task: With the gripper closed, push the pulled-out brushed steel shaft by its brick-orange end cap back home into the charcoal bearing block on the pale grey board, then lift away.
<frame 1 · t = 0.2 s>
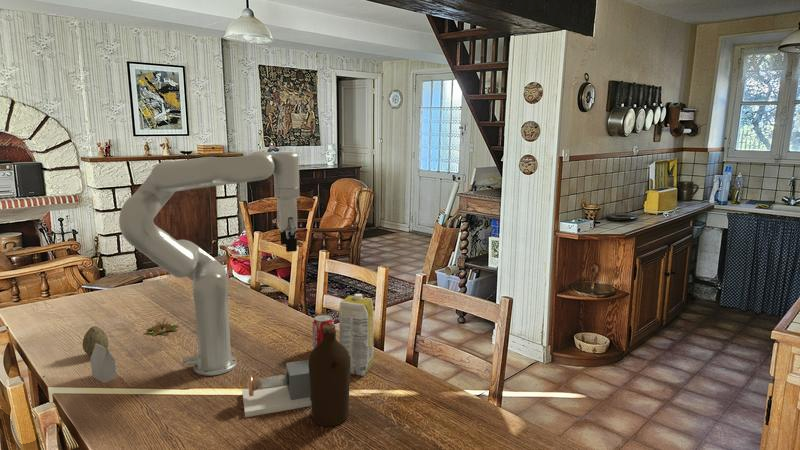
hand: (288, 247, 161), 36 cm above the table, tool pointing down, fingers open, 9 cm apart
juice carton: (356, 370, 160), on the table
bearing board: (270, 401, 142), on the table
olive oil: (330, 417, 135), on the table
decorative egg: (97, 356, 168), on the table
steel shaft: (276, 381, 141), point 6 cm above the table, slide at 9.0 cm
soda can: (323, 352, 173), on the table
green leafy plant: (162, 332, 189), on the table
tea bag: (104, 378, 154), on the table
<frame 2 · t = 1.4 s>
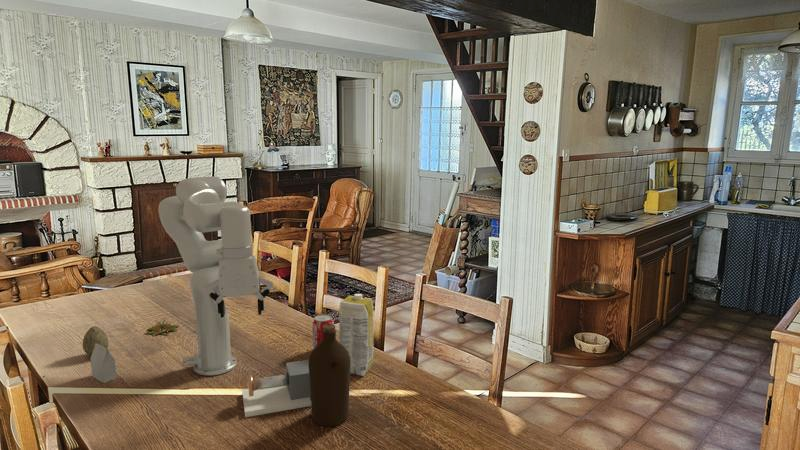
hand: (241, 314, 139), 24 cm above the table, tool pointing down, fingers open, 9 cm apart
nothing on the table moved.
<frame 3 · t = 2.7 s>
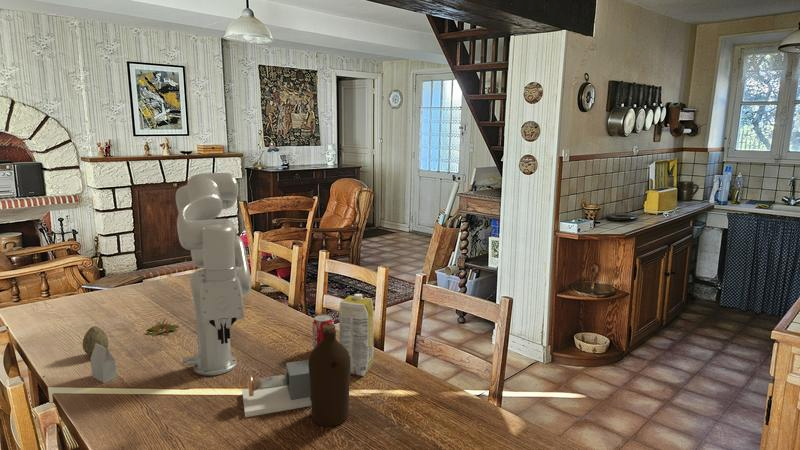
hand: (224, 341, 134), 19 cm above the table, tool pointing down, fingers closed
nothing on the table moved.
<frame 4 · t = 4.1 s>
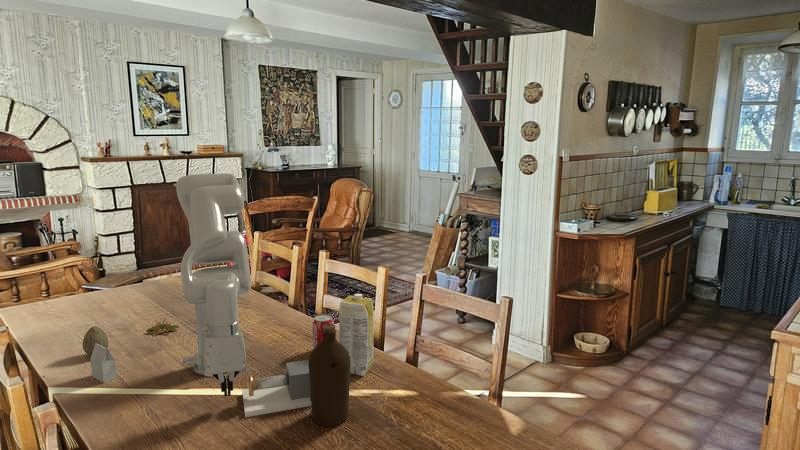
hand: (227, 393, 137), 4 cm above the table, tool pointing down, fingers closed
nothing on the table moved.
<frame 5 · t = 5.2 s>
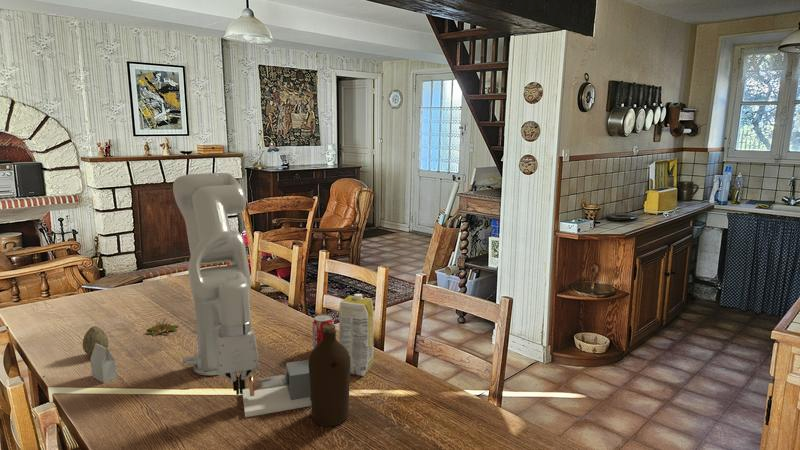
hand: (239, 392, 138), 4 cm above the table, tool pointing down, fingers closed
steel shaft: (277, 381, 141), point 6 cm above the table, slide at 8.8 cm, touching gripper
everything else where it was.
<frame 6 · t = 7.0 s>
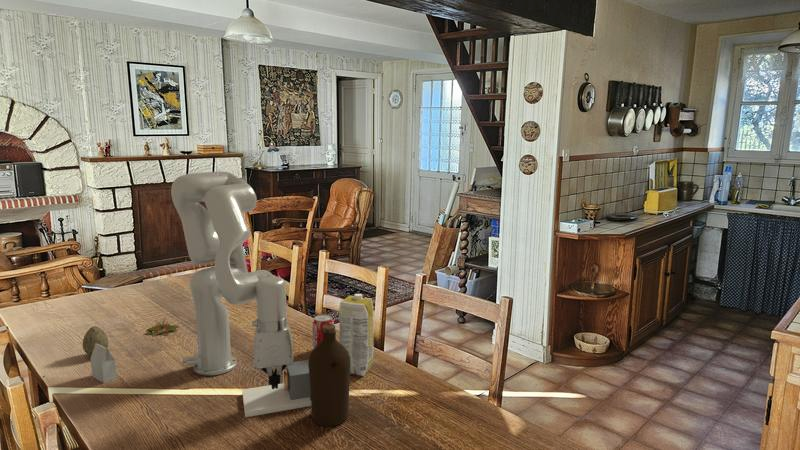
hand: (274, 386, 141), 4 cm above the table, tool pointing down, fingers closed
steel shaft: (310, 376, 144), point 6 cm above the table, slide at -0.3 cm, touching gripper
everything else where it was.
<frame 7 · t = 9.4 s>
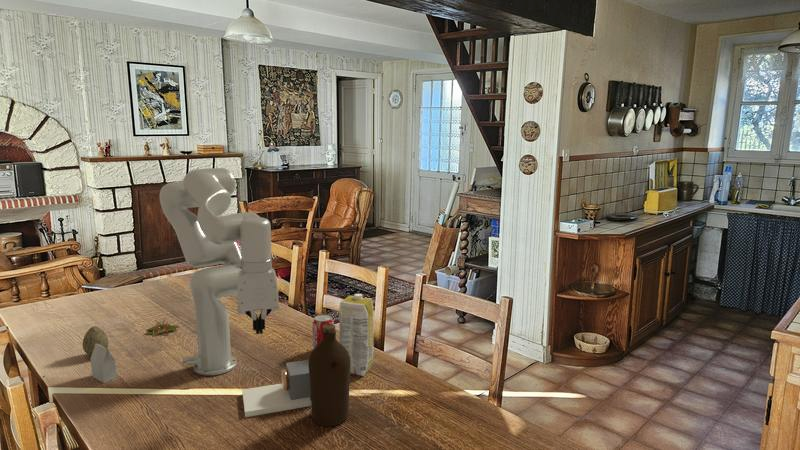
hand: (259, 332, 137), 20 cm above the table, tool pointing down, fingers closed
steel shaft: (309, 376, 144), point 6 cm above the table, slide at 0.0 cm
everything else where it was.
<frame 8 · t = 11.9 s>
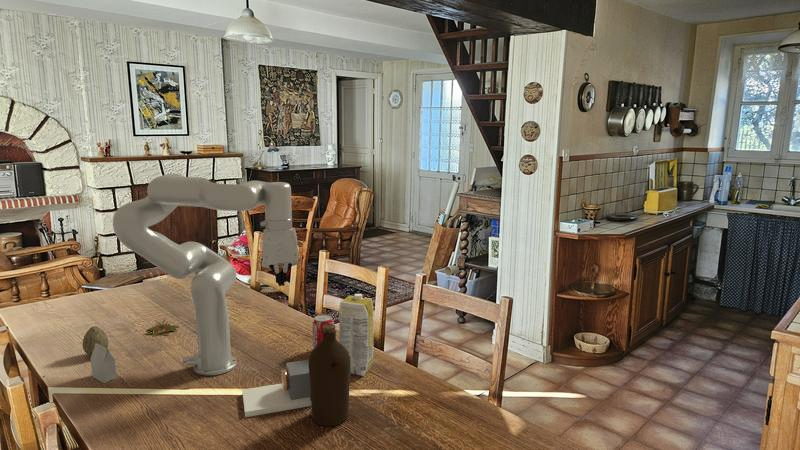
hand: (281, 284, 155), 27 cm above the table, tool pointing down, fingers closed
nothing on the table moved.
at the end: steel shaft slide at 0.0 cm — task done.
